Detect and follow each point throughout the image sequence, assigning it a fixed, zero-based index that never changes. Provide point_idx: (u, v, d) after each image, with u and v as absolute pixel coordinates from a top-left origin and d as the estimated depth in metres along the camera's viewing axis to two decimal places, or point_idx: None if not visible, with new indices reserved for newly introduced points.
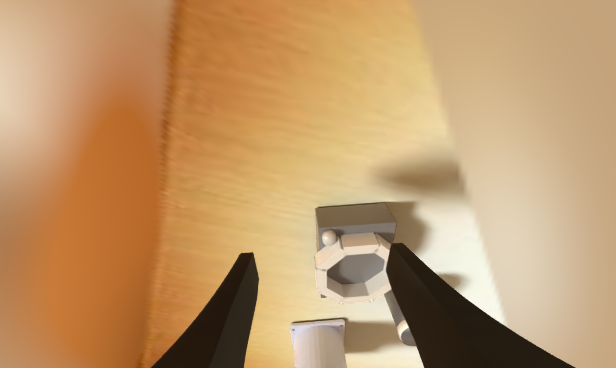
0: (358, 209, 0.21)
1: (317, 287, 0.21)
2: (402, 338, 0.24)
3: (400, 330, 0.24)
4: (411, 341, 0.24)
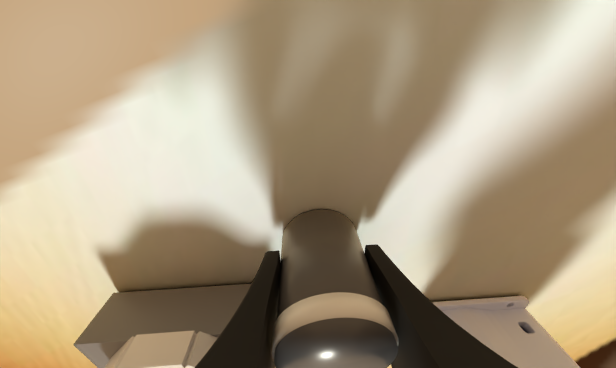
0: None
1: None
2: None
3: None
4: None
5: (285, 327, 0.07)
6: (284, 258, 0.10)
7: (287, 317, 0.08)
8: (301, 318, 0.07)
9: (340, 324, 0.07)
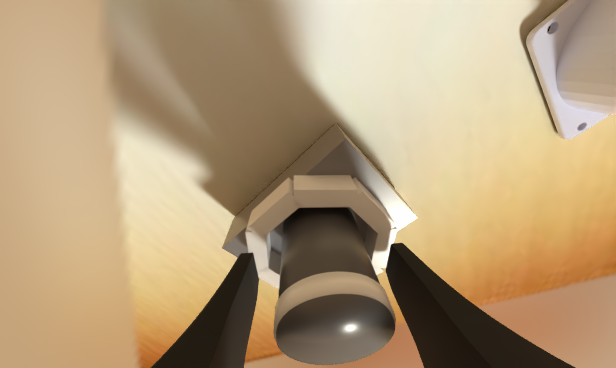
0: None
1: (376, 274, 0.13)
2: (337, 363, 0.09)
3: None
4: (360, 347, 0.09)
5: (289, 302, 0.08)
6: (286, 242, 0.11)
7: (291, 293, 0.08)
8: (306, 293, 0.07)
9: (344, 299, 0.07)
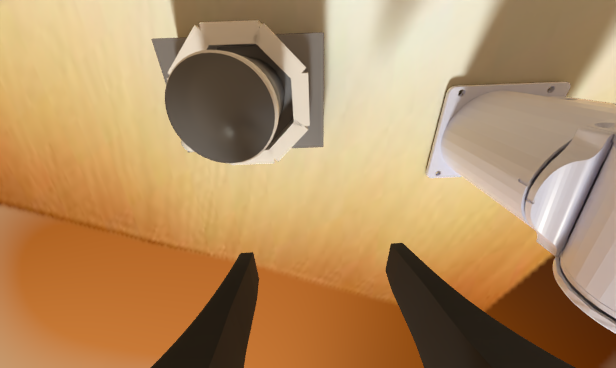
0: None
1: (267, 162, 0.15)
2: (199, 152, 0.10)
3: None
4: (229, 146, 0.10)
5: None
6: None
7: None
8: (228, 53, 0.08)
9: (255, 74, 0.08)
